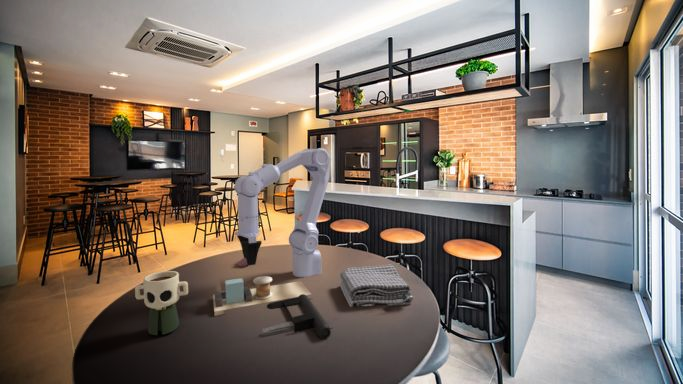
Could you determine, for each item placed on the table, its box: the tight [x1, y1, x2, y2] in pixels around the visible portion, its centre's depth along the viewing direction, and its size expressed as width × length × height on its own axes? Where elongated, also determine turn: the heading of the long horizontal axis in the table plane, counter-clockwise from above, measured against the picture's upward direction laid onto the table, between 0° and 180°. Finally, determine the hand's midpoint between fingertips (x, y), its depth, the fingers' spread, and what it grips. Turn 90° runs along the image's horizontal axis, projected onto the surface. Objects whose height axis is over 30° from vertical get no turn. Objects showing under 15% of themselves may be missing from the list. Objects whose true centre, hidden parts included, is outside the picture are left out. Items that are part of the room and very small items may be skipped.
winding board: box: [212, 275, 313, 317], centre depth 89 cm, size 26×11×6 cm, turn 114°
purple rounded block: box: [237, 249, 260, 268], centre depth 121 cm, size 10×5×7 cm, turn 0°
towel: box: [339, 263, 414, 308], centre depth 90 cm, size 15×18×8 cm
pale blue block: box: [224, 277, 245, 304], centre depth 85 cm, size 4×3×6 cm, turn 114°
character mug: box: [134, 270, 189, 336], centre depth 72 cm, size 11×7×13 cm, turn 104°
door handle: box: [258, 294, 333, 340], centre depth 76 cm, size 3×20×16 cm
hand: (249, 260), depth 94 cm, fingers open, 7 cm apart
